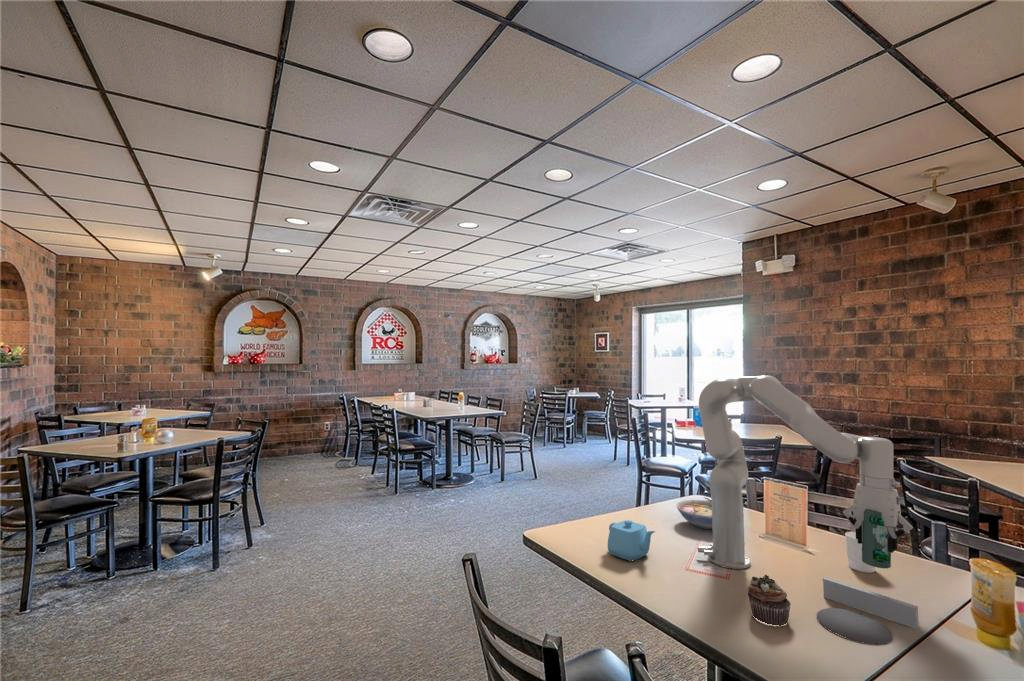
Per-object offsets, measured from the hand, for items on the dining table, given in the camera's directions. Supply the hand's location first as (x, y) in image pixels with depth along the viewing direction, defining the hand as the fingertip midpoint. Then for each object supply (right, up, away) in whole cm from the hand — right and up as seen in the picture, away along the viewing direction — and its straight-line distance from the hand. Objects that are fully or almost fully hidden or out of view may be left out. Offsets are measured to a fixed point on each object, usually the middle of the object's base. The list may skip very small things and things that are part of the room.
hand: (876, 546), depth 130 cm
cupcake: (-36, -14, -11) cm, 40 cm away
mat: (-17, -13, -15) cm, 26 cm away
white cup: (+9, -15, +18) cm, 25 cm away
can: (0, -5, 0) cm, 5 cm away
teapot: (-61, -16, +27) cm, 69 cm away
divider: (-8, -13, -8) cm, 18 cm away
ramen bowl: (-24, -17, +56) cm, 64 cm away
